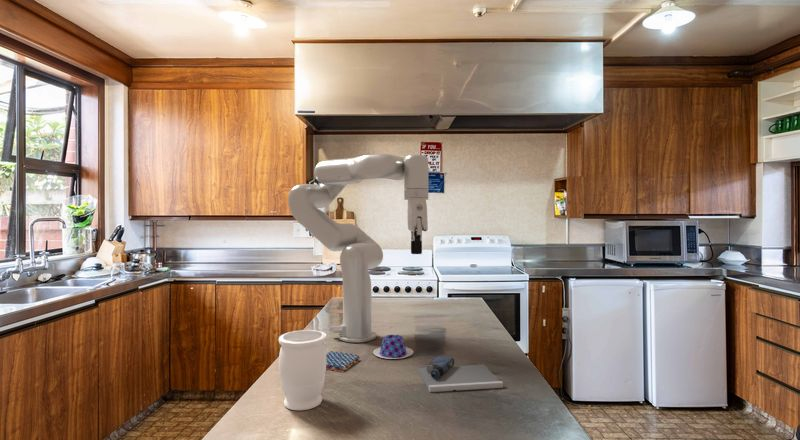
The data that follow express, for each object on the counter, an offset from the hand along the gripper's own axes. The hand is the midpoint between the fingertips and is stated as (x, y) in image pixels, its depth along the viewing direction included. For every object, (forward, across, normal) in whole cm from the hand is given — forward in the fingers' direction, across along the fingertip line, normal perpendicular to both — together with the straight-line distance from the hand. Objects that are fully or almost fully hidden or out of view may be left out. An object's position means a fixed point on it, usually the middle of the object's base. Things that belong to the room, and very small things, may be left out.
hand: (416, 253), depth 137 cm
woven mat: (+30, -12, +25) cm, 41 cm away
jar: (+29, -36, +32) cm, 56 cm away
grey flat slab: (+29, -27, -6) cm, 40 cm away
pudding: (+30, -6, +8) cm, 31 cm away
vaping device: (+28, -19, -5) cm, 34 cm away
